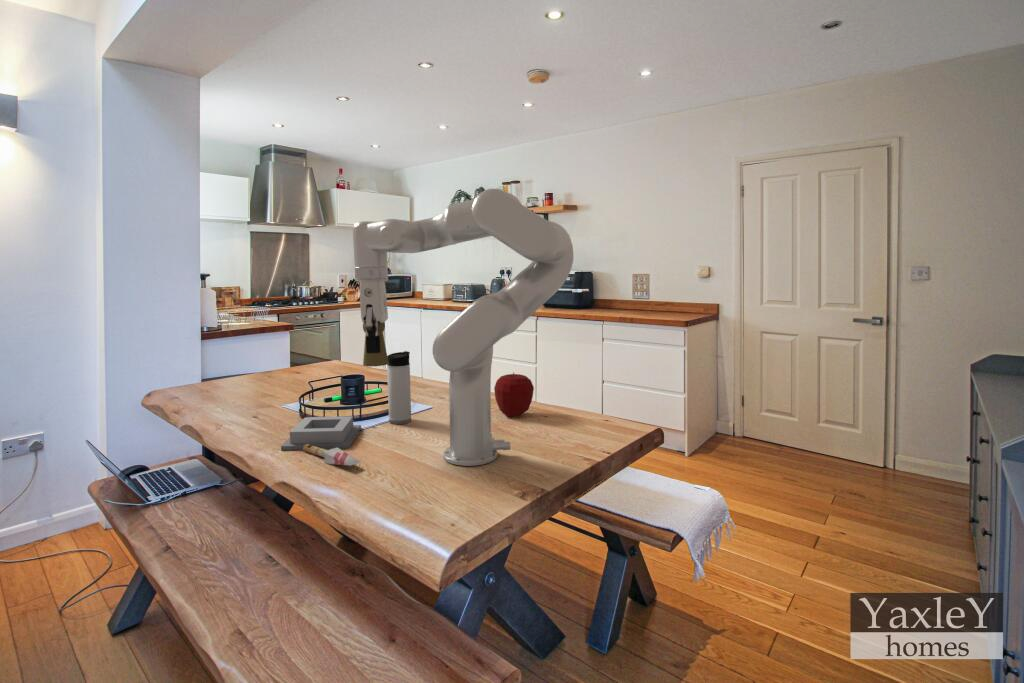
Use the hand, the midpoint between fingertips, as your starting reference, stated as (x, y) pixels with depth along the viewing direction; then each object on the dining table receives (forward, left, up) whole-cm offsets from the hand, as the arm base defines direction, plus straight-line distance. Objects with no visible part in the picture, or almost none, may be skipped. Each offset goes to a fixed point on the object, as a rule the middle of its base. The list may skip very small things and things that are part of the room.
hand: (375, 350), depth 129 cm
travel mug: (-3, -21, -24) cm, 32 cm away
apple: (-36, -24, -24) cm, 49 cm away
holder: (+15, -7, -24) cm, 30 cm away
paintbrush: (+10, +8, -25) cm, 28 cm away
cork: (0, 0, -4) cm, 4 cm away
